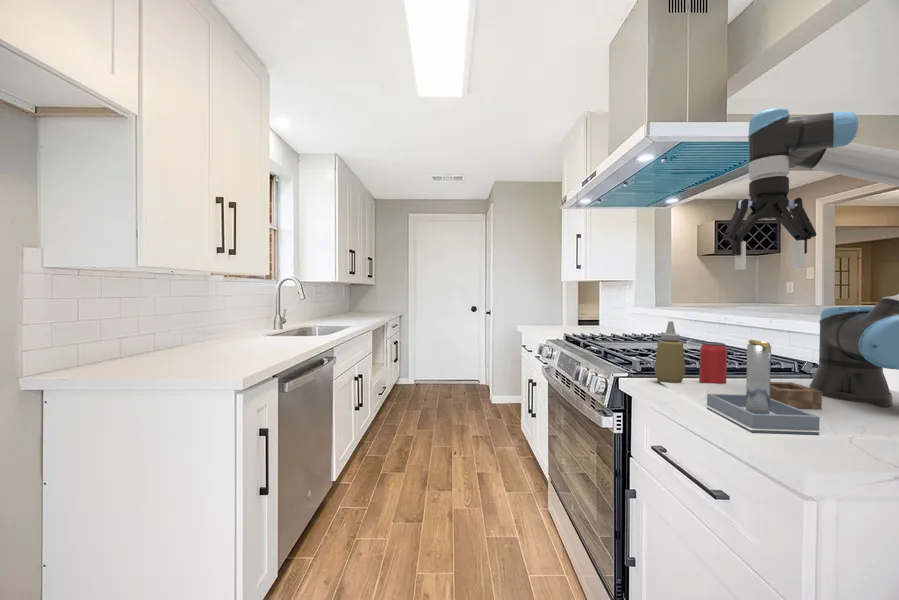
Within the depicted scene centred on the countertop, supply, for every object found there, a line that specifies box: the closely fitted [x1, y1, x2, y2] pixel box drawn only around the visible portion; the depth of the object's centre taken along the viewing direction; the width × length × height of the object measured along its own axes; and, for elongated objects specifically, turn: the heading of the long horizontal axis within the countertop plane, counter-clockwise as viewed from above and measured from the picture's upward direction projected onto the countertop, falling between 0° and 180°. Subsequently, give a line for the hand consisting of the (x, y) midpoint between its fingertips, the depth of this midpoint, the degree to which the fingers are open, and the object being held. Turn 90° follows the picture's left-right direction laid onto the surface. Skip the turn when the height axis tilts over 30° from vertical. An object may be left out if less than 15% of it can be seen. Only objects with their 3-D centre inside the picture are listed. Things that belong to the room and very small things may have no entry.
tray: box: [706, 393, 821, 436], centre depth 87 cm, size 12×16×4 cm
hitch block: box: [770, 381, 823, 411], centre depth 97 cm, size 9×9×5 cm
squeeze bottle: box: [653, 321, 686, 384], centre depth 121 cm, size 8×8×18 cm
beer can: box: [698, 341, 728, 385], centre depth 120 cm, size 7×7×12 cm
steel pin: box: [745, 339, 772, 414], centre depth 87 cm, size 4×6×16 cm
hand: (769, 269), depth 99 cm, fingers open, 13 cm apart
